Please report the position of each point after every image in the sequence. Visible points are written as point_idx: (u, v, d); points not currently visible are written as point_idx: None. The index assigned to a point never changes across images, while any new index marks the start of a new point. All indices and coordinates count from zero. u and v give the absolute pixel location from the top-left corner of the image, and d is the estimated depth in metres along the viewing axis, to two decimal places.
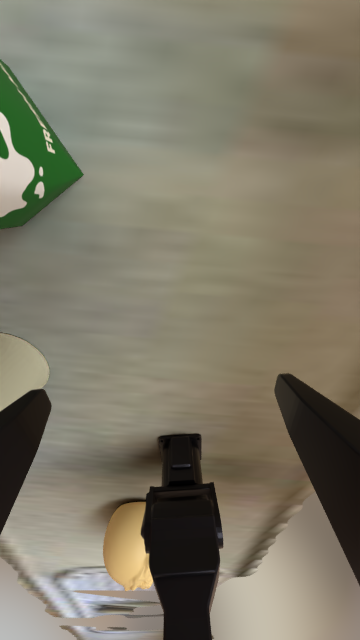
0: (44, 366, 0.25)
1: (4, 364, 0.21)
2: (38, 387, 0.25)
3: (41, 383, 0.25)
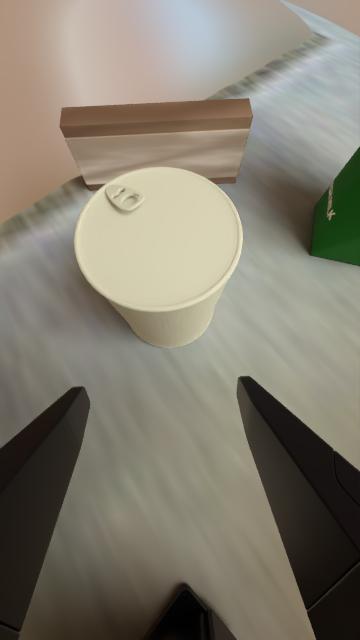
0: (201, 332, 0.21)
1: None
2: (187, 338, 0.19)
3: (187, 339, 0.20)
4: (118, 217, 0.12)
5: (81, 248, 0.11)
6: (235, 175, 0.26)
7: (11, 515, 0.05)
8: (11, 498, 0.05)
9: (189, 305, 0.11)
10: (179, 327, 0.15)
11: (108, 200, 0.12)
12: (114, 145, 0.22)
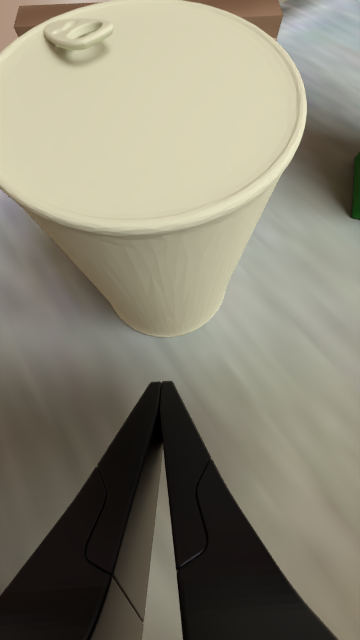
0: (210, 315, 0.15)
1: None
2: (191, 321, 0.14)
3: (191, 324, 0.14)
4: (64, 71, 0.06)
5: None
6: None
7: (141, 506, 0.05)
8: (142, 489, 0.05)
9: (203, 218, 0.05)
10: (180, 295, 0.09)
11: (48, 46, 0.07)
12: None
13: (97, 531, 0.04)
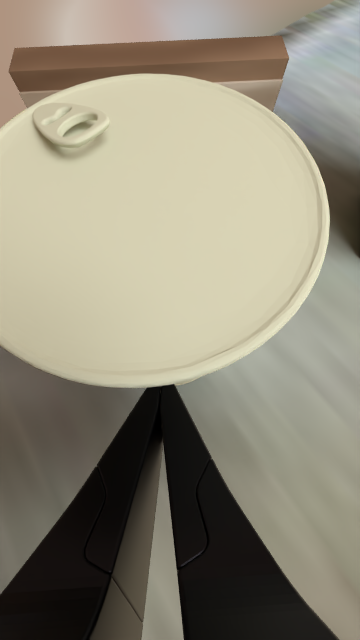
0: None
1: None
2: None
3: None
4: (55, 166, 0.06)
5: None
6: None
7: (140, 506, 0.05)
8: (141, 489, 0.05)
9: (215, 369, 0.04)
10: None
11: (38, 133, 0.06)
12: None
13: (96, 531, 0.04)
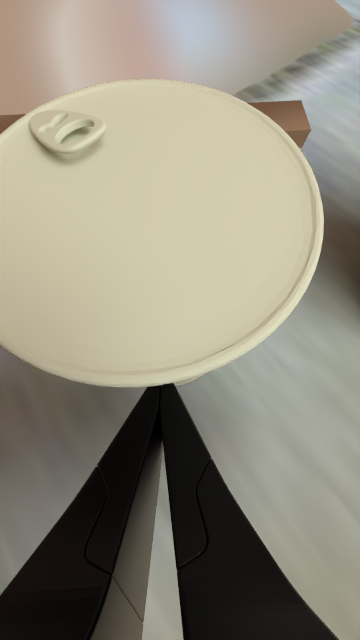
0: None
1: None
2: None
3: None
4: (54, 172, 0.06)
5: None
6: None
7: (140, 506, 0.05)
8: (141, 489, 0.05)
9: (219, 365, 0.04)
10: None
11: (35, 141, 0.06)
12: None
13: (97, 531, 0.04)
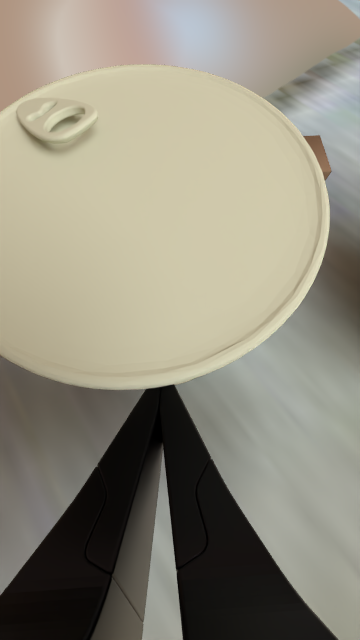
0: None
1: None
2: None
3: None
4: (44, 164, 0.05)
5: None
6: None
7: (141, 506, 0.05)
8: (142, 489, 0.05)
9: (222, 365, 0.04)
10: None
11: (23, 130, 0.06)
12: None
13: (97, 531, 0.04)
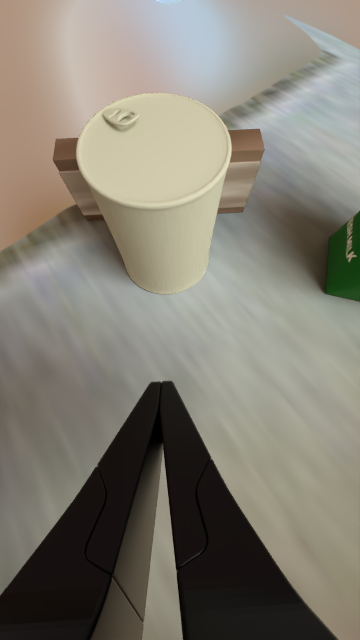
0: (199, 277, 0.22)
1: None
2: (186, 278, 0.20)
3: (185, 281, 0.21)
4: (116, 135, 0.13)
5: (83, 160, 0.12)
6: (243, 205, 0.24)
7: (141, 506, 0.05)
8: (142, 489, 0.05)
9: (186, 200, 0.12)
10: (177, 249, 0.16)
11: (106, 122, 0.13)
12: None
13: (97, 531, 0.04)
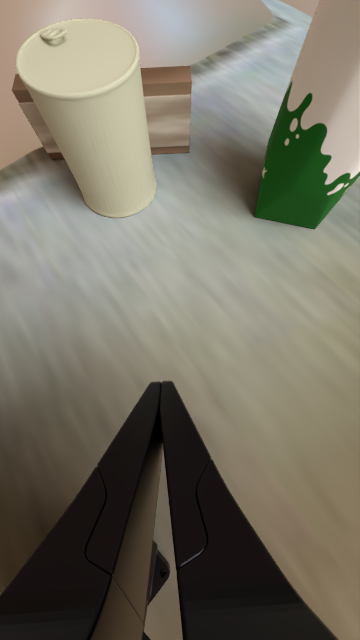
0: (145, 202, 0.26)
1: None
2: (130, 198, 0.24)
3: (131, 202, 0.24)
4: (49, 48, 0.16)
5: (21, 65, 0.16)
6: (187, 144, 0.27)
7: (141, 506, 0.05)
8: (142, 489, 0.05)
9: (97, 91, 0.15)
10: (109, 154, 0.19)
11: (42, 39, 0.17)
12: None
13: (97, 531, 0.04)
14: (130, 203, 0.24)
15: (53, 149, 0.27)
